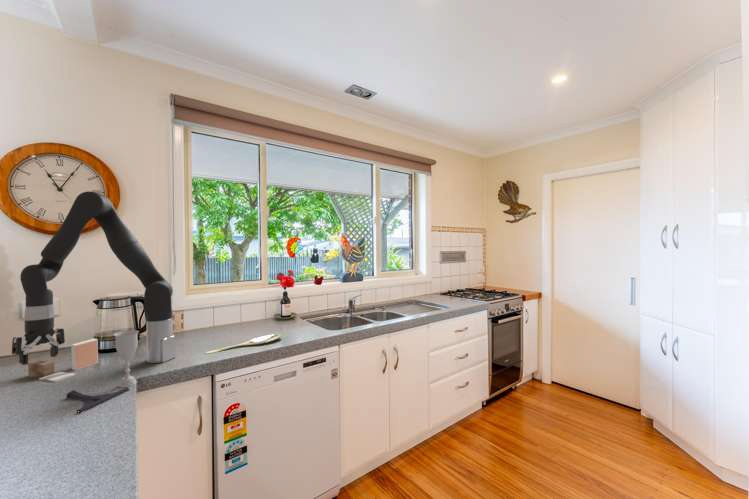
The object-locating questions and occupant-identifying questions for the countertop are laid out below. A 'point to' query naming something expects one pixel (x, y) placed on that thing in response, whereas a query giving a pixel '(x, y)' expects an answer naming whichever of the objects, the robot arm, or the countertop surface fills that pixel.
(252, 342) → the spoon
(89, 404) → the bracket
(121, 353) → the chalice
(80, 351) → the tile
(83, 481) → the countertop surface
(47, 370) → the turner
